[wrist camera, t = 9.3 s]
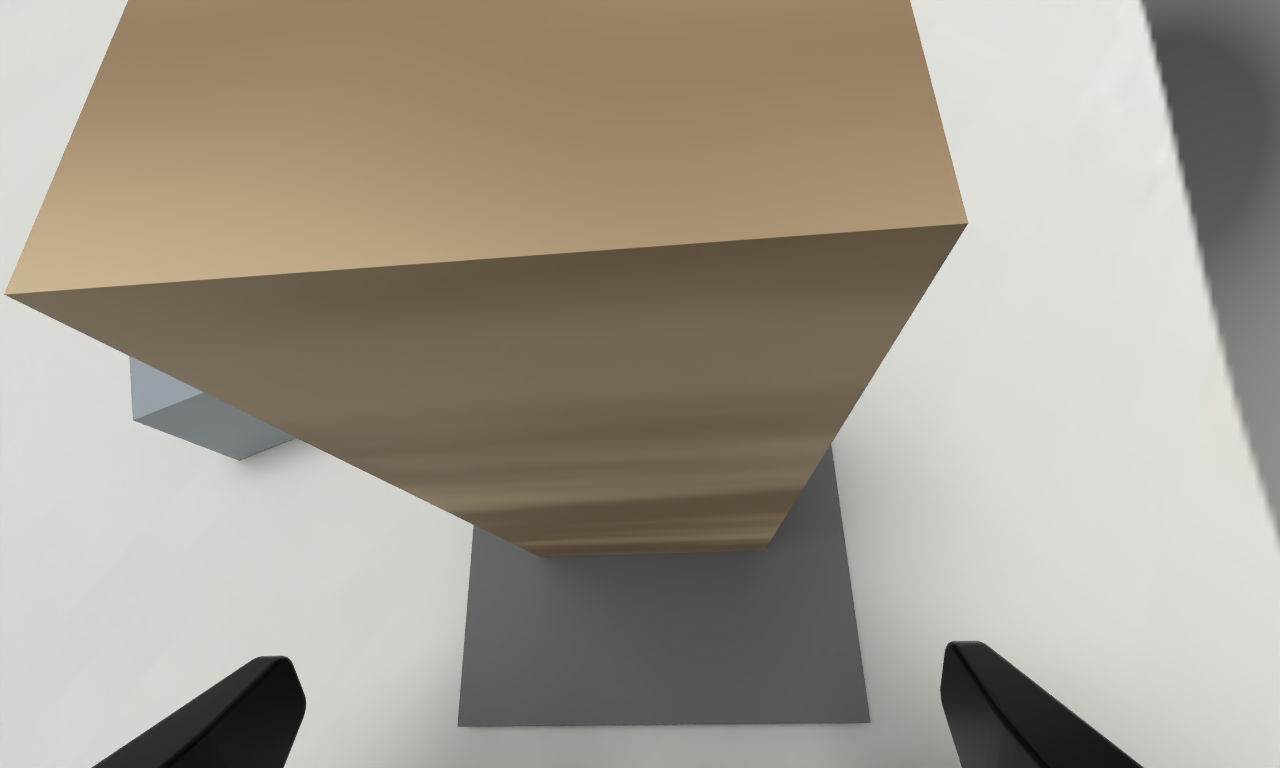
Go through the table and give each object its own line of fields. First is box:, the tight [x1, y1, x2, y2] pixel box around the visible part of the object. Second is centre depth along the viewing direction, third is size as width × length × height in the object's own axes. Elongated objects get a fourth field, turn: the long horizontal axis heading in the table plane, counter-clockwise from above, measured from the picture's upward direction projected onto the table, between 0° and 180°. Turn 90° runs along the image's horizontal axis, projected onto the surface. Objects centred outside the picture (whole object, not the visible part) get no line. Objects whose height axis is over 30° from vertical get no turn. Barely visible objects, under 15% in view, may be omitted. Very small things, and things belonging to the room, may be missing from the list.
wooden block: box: [4, 0, 968, 557], centre depth 11 cm, size 4×6×14 cm, turn 91°
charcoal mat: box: [458, 444, 870, 727], centre depth 17 cm, size 10×10×1 cm
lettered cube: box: [130, 356, 296, 460], centre depth 19 cm, size 4×4×4 cm
